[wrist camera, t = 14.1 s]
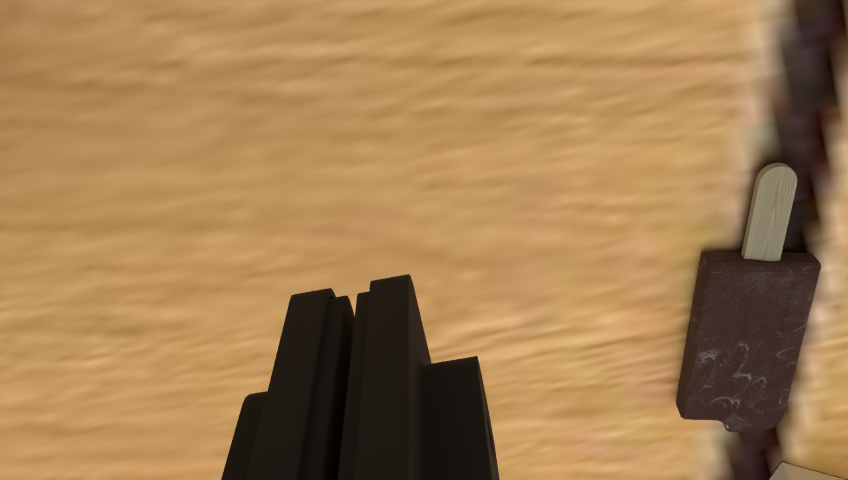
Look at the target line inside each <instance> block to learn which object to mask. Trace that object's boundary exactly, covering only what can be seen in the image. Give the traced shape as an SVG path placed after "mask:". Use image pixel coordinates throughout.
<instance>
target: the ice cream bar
mask: <svg viewBox="0 0 848 480" xmlns="http://www.w3.org/2000/svg"><path fill="white" fill-rule="evenodd" d="M796 186H797V176H796V173H795V172H794V171H793V170H792V169H791V168H790V167H789V166H788V165H786V164H784V163H772V164H770V165H767V166H766V167H764V168H763V169H762V170H761V171H760V172H759V174H758V175H757V178H756V181H755V186H754V191H753V196H752V202H751V207H750V212H749V217H748V222H747V227H746V232H745V237H744V243H743V248H742V251H720V252H711V253H701V259H700V264H699V270H698V276H697V282H696V288H695V294H694V300H693V306H692V312H691V318H690V323H689V329H688V335H687V341H686V347H685V353H684V359H683V365H682V371H681V376H680V382H679V388H678V394H677V400H676V405H677V408H678V410H679V413H680V415H681V417H682V418H683V419H693V420H718V421H721V422H723V424H724V426H725V428H726V430H727V431H729V432H758V431H763V430H767V429H770V428H773V427H774V426H775V425H777V424H778V423H779V422H780V420H781V419H782V418H783V416H784V412H785V408H786V404H787V400H788V396H789V392H790V388H791V384H792V380H793V376H794V372H795V368H796V364H797V360H798V356H799V352H800V348H801V344H802V340H803V336H804V332H805V328H806V324H807V320H808V316H809V312H810V308H811V304H812V300H813V296H814V292H815V288H816V284H817V280H818V276H819V272H820V268H821V264H820V263H819V261H818V260H817V259H816V258H815V257H814V255H813V254H812V253H795V252H786V253H782V249H783V244H784V240H785V235H786V231H787V226H788V222H789V217H790V213H791V208H792V204H793V199H794V195H795V190H796Z"/></svg>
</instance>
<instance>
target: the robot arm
mask: <svg viewBox="0 0 848 480" xmlns="http://www.w3.org/2000/svg"><path fill="white" fill-rule="evenodd" d="M221 480H499V473H498V466H497V459H496V452H495V446H494V439H493V433H492V427H491V422H490V416H489V411H488V405H487V400H486V395H485V390H484V385H483V380H482V375H481V370H480V365H479V361H478V358H477V356H474V357H469V358H463V359H457V360H451V361H445V362H439V363H433V364H431V359H430V355H429V351H428V346H427V342H426V338H425V334H424V329H423V325H422V321H421V316H420V312H419V308H418V303H417V299H416V295H415V291H414V286H413V283H412V279H411V276H410V275H409V274H408V275H402V276H396V277H391V278H385V279H379V280H374V281H371V283H370V292H364V293H359V294H358V295H357V302H356V312H355V316H354V313H353V309H352V306H351V303H350V300H349V298H348V296H341V297H336V296H335V294H334V292H333V290H332V289H331V288H328V289H323V290H317V291H311V292H306V293H300V294H294V295H292V296H291V298H290V302H289V306H288V310H287V314H286V318H285V322H284V327H283V331H282V335H281V339H280V343H279V347H278V351H277V355H276V359H275V363H274V367H273V372H272V376H271V380H270V384H269V388H268V391H266V392H260V393H254V394H250V395H248V396H247V397H246V398H245V400H244V402H243V405H242V408H241V411H240V415H239V419H238V422H237V426H236V429H235V433H234V436H233V440H232V443H231V447H230V450H229V454H228V458H227V461H226V465H225V468H224V472H223V475H222V479H221Z"/></svg>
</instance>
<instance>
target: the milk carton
mask: <svg viewBox="0 0 848 480" xmlns="http://www.w3.org/2000/svg"><path fill="white" fill-rule="evenodd" d="M769 480H845V479H841V478H837V477H834V476H830V475H826V474H823V473H819V472H816V471H812V470H808V469H805V468H801V467H798V466H794V465H790V464H787V463H783V462H782V463H781V464H780V465H779V467H778V468H777V469H776V471H775V472H774V474H773V475H772V476H771V478H770V479H769Z"/></svg>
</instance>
